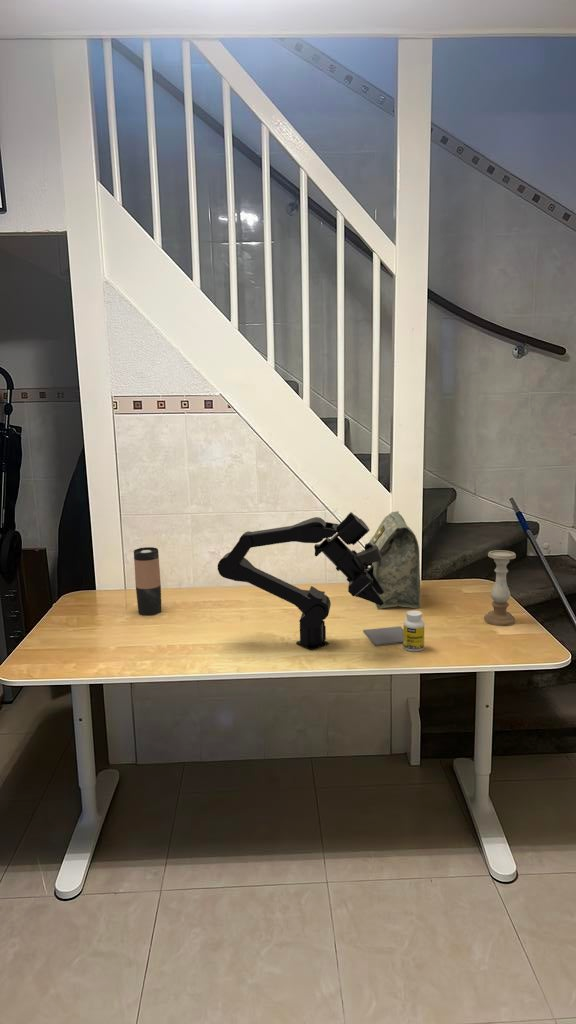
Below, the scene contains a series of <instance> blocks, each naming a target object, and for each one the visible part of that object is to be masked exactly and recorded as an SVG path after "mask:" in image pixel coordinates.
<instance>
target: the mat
mask: <svg viewBox="0 0 576 1024" xmlns="http://www.w3.org/2000/svg"><path fill="white" fill-rule="evenodd" d="M403 631H404V627H401V626H400V625H399V626H392V627H391V626H390V627H379V628H378V627H377V628H370V629H363V633H364V635H366V636H367V638H368V640H370V641H371V643H372V644H373V645H374V646H375V647H380V646H392V645H399V644H402V645H403Z"/></svg>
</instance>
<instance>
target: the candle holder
mask: <svg viewBox="0 0 576 1024" xmlns="http://www.w3.org/2000/svg"><path fill="white" fill-rule="evenodd" d="M487 556H488V557H489V558H490V559H493V562H494V563H495V565H496V567H495V569H494V570H493V571H494V572H495V583H494V585H493V587H492V589H491V591H490V597H491V600H493V601H492V602H491V606H492V607H493V610H490V611H488V612H487V613H486V614H485V615H484V616H483V620H484V622H485V623H487V624H490V625H494V626H498V627H499V626H502V627H504V626H505V627H507V626H512V625H514V624H515V623H516V622H517V621H516V620H517V619H516V617H515V616H513V614H512V613H511V612H509V611H508V610H507V609H508V607H509V605H510V604H509V603H508V602H509V600H510V598H511V592H510V589H509V587H508V584H507V574H508V573H509V570H508V568H507V566H508V564H509V563H510V560H514V559H516V556H517V555H516V553H515V552H514V551H510V550H505V549H504V550H503V549H502V550H500V549H499V550H498V549H497V550H495V549H494V550H490V551H489V552H488V553H487Z"/></svg>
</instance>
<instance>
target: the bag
mask: <svg viewBox="0 0 576 1024" xmlns="http://www.w3.org/2000/svg"><path fill="white" fill-rule="evenodd" d="M416 536H417V535H415V533H414V532H413V530H412V528H410V527H409V526H408V525H407V522H406V521H405V519H404V517H403V516H402V515H401V514H400V513H399V511H398V510H397V511H391V512H390V513H388V515H386V516H385V517H384V518H383V520H382V521H381V523H380V524H379V526H378V528H377V529H376V531H375V533H374V535H373V536H371V539H370V540H369V541H368V543H371V544H372V545H377V546H378V548H379V551H380V553H381V555H382V557H381V558H382V559H381V560H380V561H378V562H373V563H372V565H374V569H373V574H374V576H375V577H376V579H377V581H378V582H379V584H380V586H381V587H382V589H383V591H384V593H383V594H379V593H378V595H379V596H380V597H381V599H382V600H383V602H384V604H382V605H378V604H376V603H375V606H376V608H377V609H385V608H386V609H387V608H393V607H398V606H399V607H402V608H404V607H405V608H411V609H418V608H420V607H421V572H420V571H421V570H420V546H419V542H418V539H417V537H416Z"/></svg>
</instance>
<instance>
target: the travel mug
mask: <svg viewBox="0 0 576 1024" xmlns="http://www.w3.org/2000/svg"><path fill="white" fill-rule="evenodd" d="M159 556H160V555H159V548H157V547H154V546H153V547H152V546H151V547H150V546H148V547H147V546H146V547H139V548H135V549H134V550H133V561H134V562H133V563H134V577H135V578H134V580H135V592H136V600H137V601H136V603H137V610H138V614H139V615H141V616H144V617H145V616H146V617H147V616H155V615H158V614H160V613H162V585H161V584H162V583H161V570H160V569H161V568H160V558H159Z"/></svg>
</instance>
